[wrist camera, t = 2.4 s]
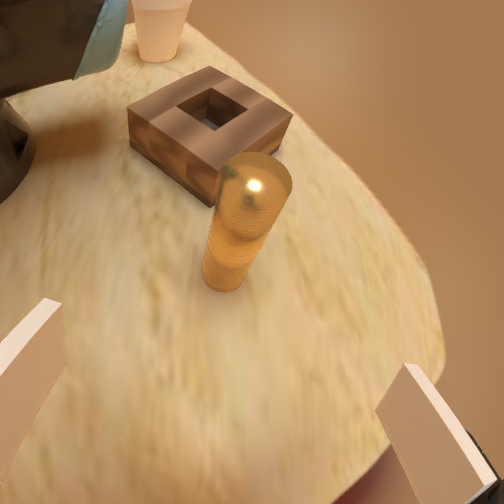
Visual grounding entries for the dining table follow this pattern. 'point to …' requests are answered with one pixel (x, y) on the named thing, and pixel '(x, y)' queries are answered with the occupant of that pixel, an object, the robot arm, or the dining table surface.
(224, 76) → the walnut socket block
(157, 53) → the foam cup
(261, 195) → the brass peg
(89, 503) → the dining table surface
